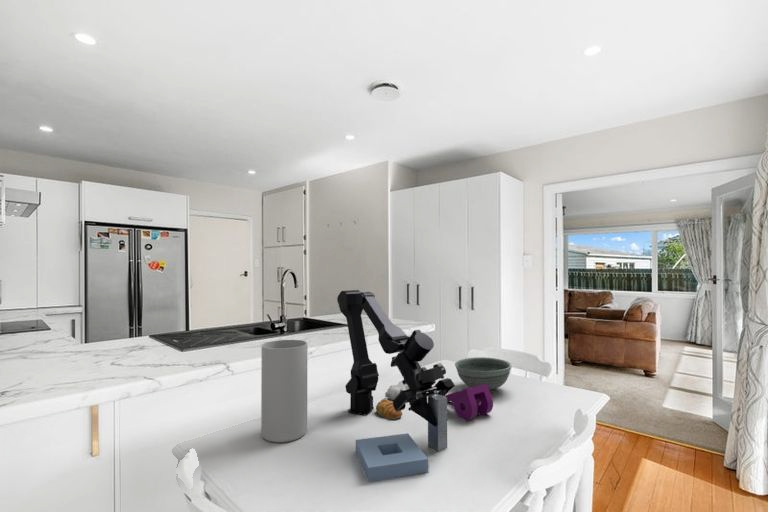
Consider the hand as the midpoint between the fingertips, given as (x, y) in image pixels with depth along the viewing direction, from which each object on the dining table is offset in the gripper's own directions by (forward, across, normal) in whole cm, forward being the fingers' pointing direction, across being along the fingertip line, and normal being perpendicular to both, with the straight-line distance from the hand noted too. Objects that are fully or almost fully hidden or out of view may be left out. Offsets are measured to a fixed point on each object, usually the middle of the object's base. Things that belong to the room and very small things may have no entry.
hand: (441, 423), depth 100 cm
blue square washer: (+2, -14, +7) cm, 16 cm away
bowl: (-11, +48, +21) cm, 53 cm away
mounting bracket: (-5, +25, +15) cm, 30 cm away
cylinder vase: (-20, -26, +29) cm, 44 cm away
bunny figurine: (-20, +20, +30) cm, 41 cm away
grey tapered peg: (+4, 0, +6) cm, 7 cm away
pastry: (-14, +5, +24) cm, 28 cm away
